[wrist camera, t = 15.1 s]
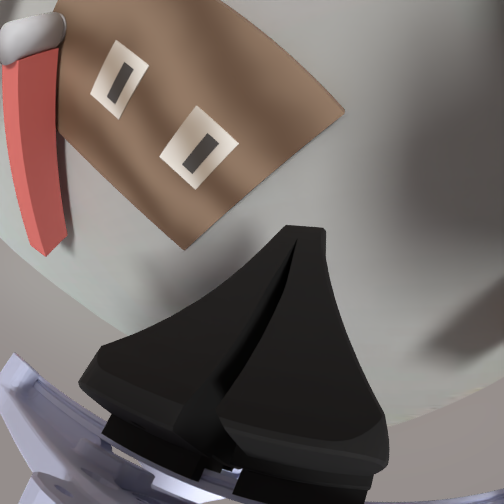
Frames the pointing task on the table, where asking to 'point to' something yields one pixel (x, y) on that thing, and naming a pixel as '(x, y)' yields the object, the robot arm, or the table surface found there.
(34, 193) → the swing arm
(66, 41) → the label board
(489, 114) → the table surface
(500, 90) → the table surface
